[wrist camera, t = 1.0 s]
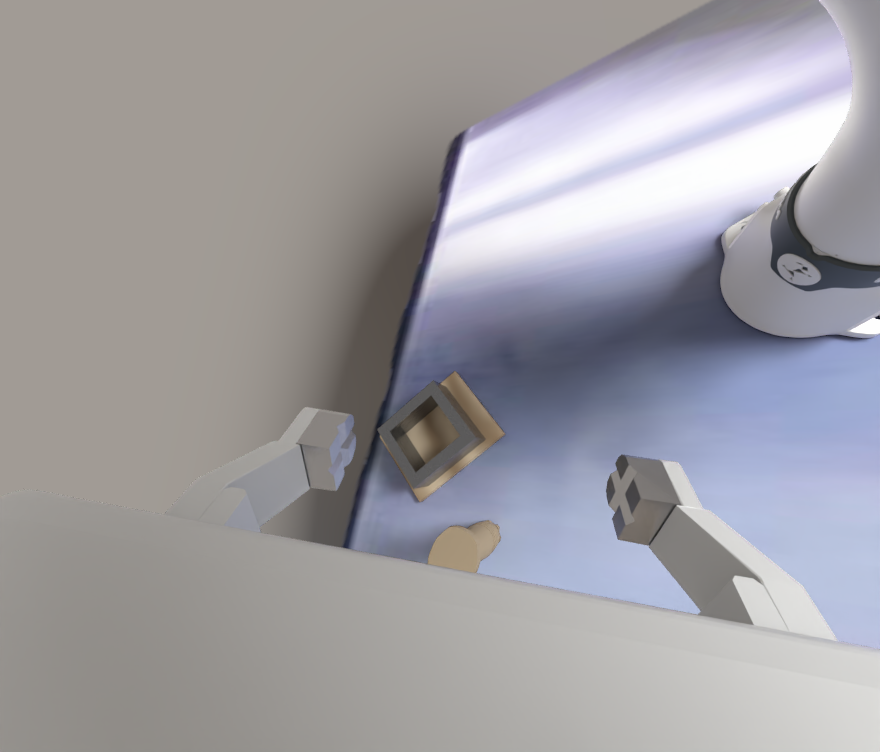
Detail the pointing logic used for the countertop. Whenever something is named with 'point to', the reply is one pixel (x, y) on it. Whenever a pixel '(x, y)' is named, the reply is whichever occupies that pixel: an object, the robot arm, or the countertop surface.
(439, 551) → the handle
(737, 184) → the countertop surface
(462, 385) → the base board
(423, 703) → the robot arm
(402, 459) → the square frame
